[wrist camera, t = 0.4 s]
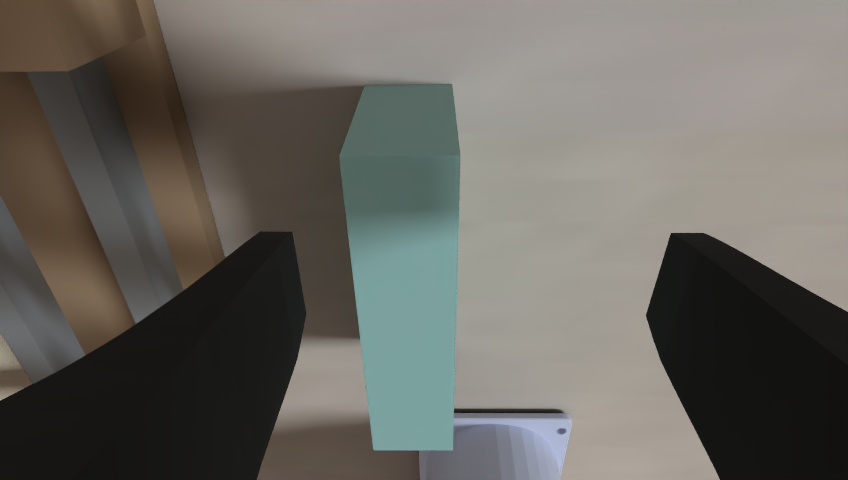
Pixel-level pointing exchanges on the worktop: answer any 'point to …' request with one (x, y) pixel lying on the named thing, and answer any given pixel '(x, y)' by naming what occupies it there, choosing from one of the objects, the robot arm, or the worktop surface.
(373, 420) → the long teal rectangular block
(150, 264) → the track board
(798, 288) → the robot arm
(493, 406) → the worktop surface
